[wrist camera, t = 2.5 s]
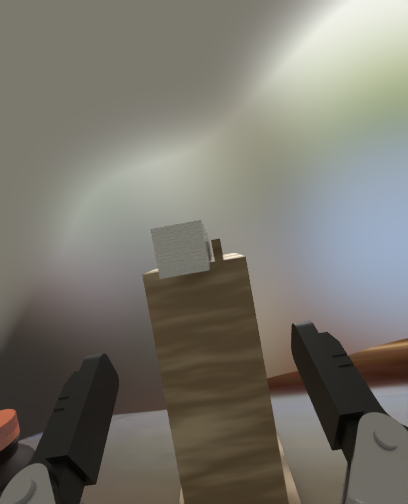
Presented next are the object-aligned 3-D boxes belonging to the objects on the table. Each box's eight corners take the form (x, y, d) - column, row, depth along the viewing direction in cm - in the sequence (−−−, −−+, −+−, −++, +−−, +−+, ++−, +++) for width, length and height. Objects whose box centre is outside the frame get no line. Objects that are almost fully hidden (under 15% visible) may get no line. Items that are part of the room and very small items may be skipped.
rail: (209, 270, 20) (200, 220, 20) (159, 278, 20) (150, 229, 20) (211, 256, 46) (207, 234, 46) (190, 260, 46) (186, 238, 46)
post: (311, 541, 28) (256, 231, 27) (177, 558, 28) (121, 256, 28) (274, 429, 45) (240, 236, 44) (190, 441, 45) (156, 251, 45)
